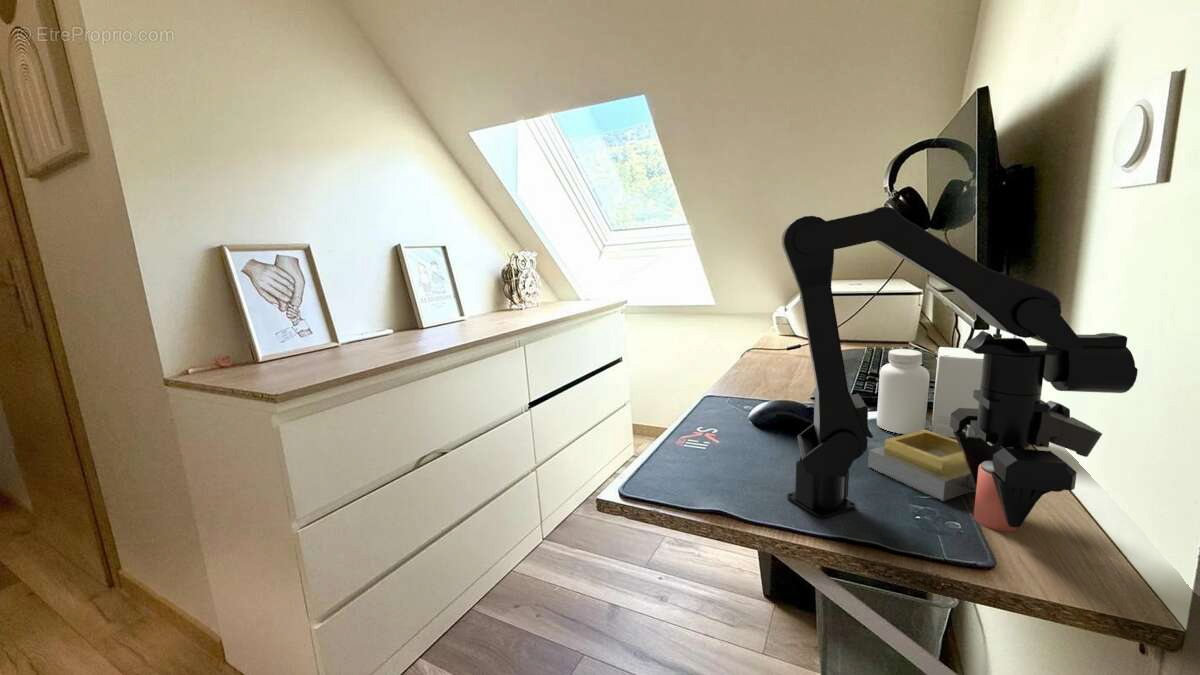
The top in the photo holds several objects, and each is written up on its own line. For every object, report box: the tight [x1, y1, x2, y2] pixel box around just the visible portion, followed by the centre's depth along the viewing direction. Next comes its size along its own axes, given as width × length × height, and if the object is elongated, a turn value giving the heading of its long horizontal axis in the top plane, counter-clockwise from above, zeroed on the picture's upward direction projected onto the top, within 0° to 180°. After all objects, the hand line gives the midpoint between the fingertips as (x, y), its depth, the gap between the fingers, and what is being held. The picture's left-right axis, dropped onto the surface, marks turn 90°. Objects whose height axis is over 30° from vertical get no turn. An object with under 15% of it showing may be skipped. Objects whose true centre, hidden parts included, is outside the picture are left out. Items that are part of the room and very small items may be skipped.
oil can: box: [973, 461, 1019, 533], centre depth 63 cm, size 4×4×7 cm
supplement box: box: [931, 346, 984, 439], centre depth 91 cm, size 9×9×15 cm
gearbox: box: [867, 429, 977, 502], centre depth 75 cm, size 12×15×5 cm
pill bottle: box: [876, 348, 931, 434], centre depth 93 cm, size 8×8×15 cm
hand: (996, 506), depth 63 cm, fingers open, 9 cm apart
